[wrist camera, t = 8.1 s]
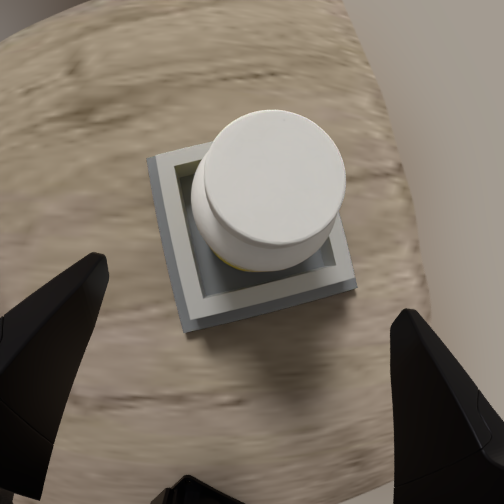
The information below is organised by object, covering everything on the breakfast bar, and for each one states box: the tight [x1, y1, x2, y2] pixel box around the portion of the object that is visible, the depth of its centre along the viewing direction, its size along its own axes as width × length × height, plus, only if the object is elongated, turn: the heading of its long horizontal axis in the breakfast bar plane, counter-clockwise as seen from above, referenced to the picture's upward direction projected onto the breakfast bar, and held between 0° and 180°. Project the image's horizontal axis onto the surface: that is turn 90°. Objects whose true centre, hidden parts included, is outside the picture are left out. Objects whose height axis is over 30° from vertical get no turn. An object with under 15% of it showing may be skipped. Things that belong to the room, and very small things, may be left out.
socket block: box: [147, 142, 358, 333], centre depth 20 cm, size 12×12×3 cm
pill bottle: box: [191, 110, 346, 272], centre depth 15 cm, size 6×6×11 cm
